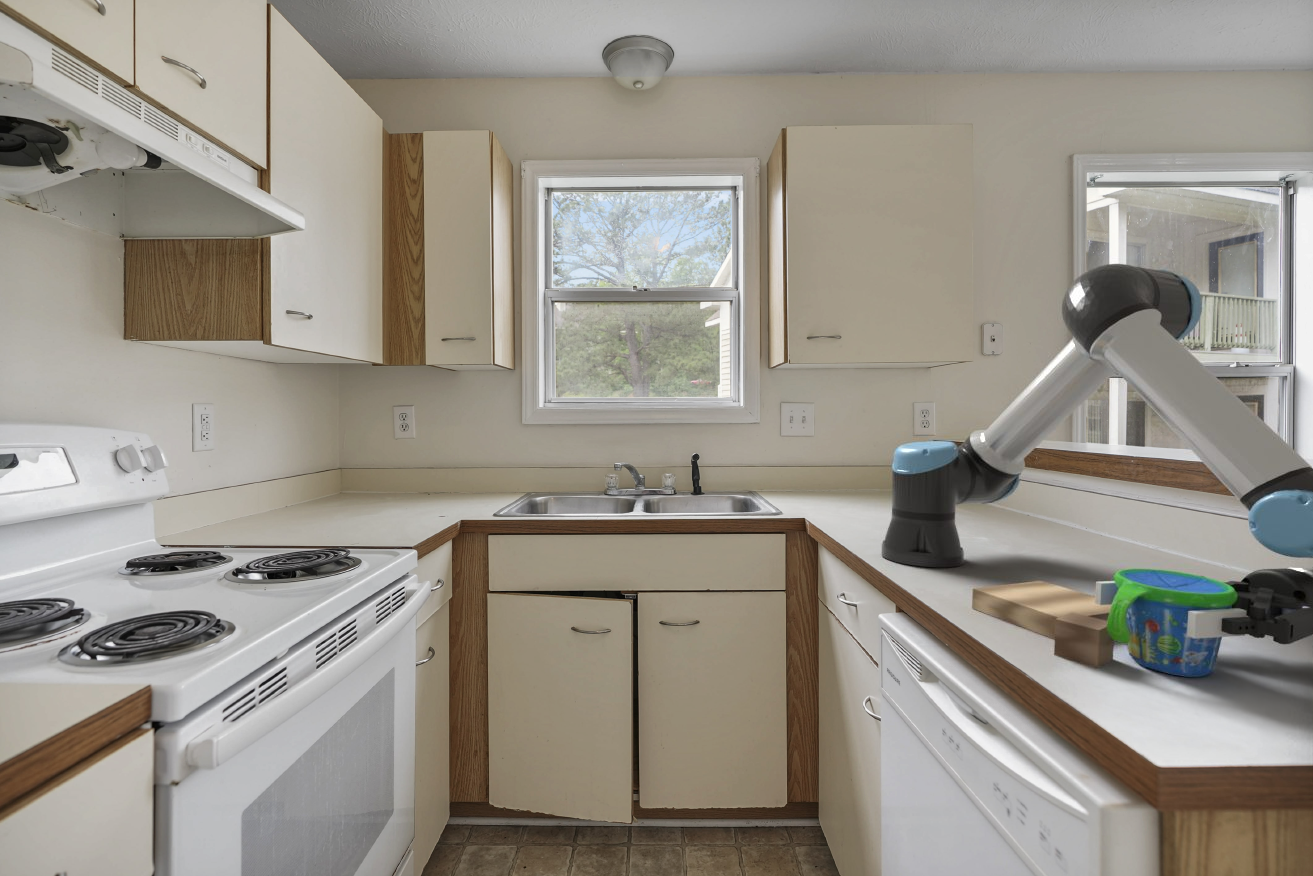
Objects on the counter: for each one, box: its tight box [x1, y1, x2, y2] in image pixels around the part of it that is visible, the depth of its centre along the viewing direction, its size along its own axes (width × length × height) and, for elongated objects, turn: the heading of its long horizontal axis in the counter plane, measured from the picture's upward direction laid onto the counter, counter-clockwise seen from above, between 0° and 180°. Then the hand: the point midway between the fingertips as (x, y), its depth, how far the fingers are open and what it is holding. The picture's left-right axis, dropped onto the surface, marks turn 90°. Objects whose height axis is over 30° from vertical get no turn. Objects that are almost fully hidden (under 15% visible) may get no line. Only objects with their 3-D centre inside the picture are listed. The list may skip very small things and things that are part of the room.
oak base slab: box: [971, 580, 1112, 640], centre depth 86 cm, size 14×14×3 cm
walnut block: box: [1053, 612, 1115, 669], centre depth 72 cm, size 4×4×4 cm
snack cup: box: [1106, 568, 1238, 678], centre depth 70 cm, size 16×10×10 cm
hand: (1141, 607), depth 69 cm, fingers closed on snack cup, 10 cm apart
